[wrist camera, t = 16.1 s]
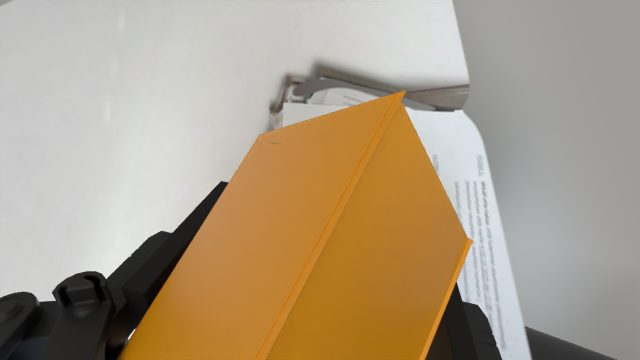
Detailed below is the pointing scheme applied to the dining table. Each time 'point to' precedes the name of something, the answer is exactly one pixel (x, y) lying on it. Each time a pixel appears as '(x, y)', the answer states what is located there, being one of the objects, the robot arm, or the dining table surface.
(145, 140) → the dining table surface
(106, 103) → the dining table surface
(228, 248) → the orange juice
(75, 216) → the dining table surface
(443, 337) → the robot arm
